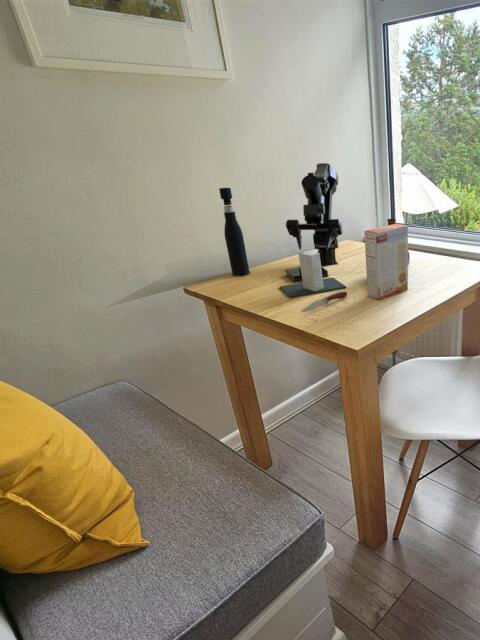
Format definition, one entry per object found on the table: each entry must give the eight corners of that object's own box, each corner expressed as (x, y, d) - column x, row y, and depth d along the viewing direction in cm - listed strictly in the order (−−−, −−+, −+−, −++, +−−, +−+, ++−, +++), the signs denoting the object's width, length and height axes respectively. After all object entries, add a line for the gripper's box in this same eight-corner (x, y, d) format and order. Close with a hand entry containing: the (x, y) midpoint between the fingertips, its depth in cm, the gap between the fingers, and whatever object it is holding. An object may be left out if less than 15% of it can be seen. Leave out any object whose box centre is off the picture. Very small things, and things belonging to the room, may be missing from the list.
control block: (318, 270, 166) (317, 259, 163) (328, 277, 157) (328, 266, 155) (286, 275, 160) (284, 264, 158) (295, 282, 152) (293, 271, 150)
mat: (333, 279, 156) (332, 277, 155) (346, 288, 146) (346, 286, 146) (279, 288, 148) (279, 286, 147) (290, 298, 139) (290, 296, 138)
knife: (345, 296, 139) (344, 287, 138) (348, 297, 139) (347, 288, 137) (300, 316, 125) (298, 306, 124) (303, 317, 125) (301, 307, 123)
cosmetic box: (324, 288, 144) (321, 252, 138) (314, 292, 141) (310, 255, 135) (311, 285, 148) (308, 249, 141) (302, 288, 145) (297, 252, 138)
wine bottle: (234, 277, 159) (216, 190, 144) (231, 272, 164) (213, 188, 148) (251, 274, 162) (236, 188, 146) (247, 270, 167) (232, 186, 151)
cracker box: (395, 285, 148) (395, 222, 137) (408, 289, 144) (409, 225, 133) (366, 295, 139) (363, 229, 129) (378, 300, 136) (377, 232, 125)
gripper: (283, 194, 141) (279, 236, 137) (338, 193, 140) (337, 235, 137) (291, 214, 152) (288, 254, 148) (343, 214, 151) (341, 253, 147)
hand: (313, 249), depth 145 cm, fingers open, 9 cm apart
